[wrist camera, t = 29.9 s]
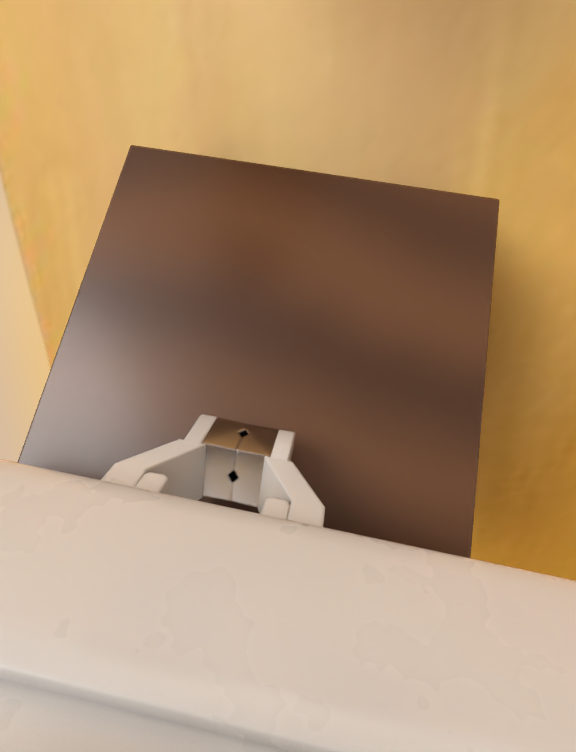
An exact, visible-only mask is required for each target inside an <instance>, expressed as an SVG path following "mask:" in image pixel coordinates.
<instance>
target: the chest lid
mask: <svg viewBox="0 0 576 752" xmlns="http://www.w3.org/2000/svg"><path fill="white" fill-rule="evenodd" d="M498 212H499V200H498V199H493V198H486V197H479V196H473V195H466V194H459V193H452V192H445V191H439V190H432V189H425V188H418V187H412V186H405V185H398V184H391V183H385V182H378V181H371V180H364V179H358V178H351V177H344V176H337V175H331V174H324V173H317V172H310V171H304V170H297V169H290V168H283V167H277V166H270V165H263V164H256V163H250V162H243V161H236V160H229V159H222V158H216V157H209V156H202V155H195V154H189V153H182V152H175V151H168V150H162V149H155V148H148V147H141V146H135V145H131V146H130V149H129V152H128V155H127V157H126V160H125V163H124V166H123V169H122V171H121V174H120V177H119V180H118V183H117V185H116V188H115V191H114V194H113V197H112V199H111V202H110V205H109V208H108V211H107V213H106V216H105V219H104V222H103V225H102V227H101V230H100V233H99V236H98V239H97V241H96V244H95V247H94V250H93V253H92V255H91V258H90V261H89V264H88V267H87V269H86V272H85V275H84V278H83V281H82V283H81V286H80V289H79V292H78V295H77V297H76V300H75V303H74V306H73V309H72V311H71V314H70V317H69V320H68V323H67V325H66V328H65V331H64V334H63V337H62V339H61V342H60V345H59V348H58V351H57V353H56V356H55V359H54V362H53V365H52V367H51V370H50V373H49V376H48V379H47V382H46V384H45V387H44V390H43V393H42V395H41V398H40V401H39V404H38V407H37V410H36V412H35V415H34V418H33V421H32V423H31V426H30V429H29V432H28V435H27V437H26V440H25V443H24V446H23V449H22V451H21V454H20V457H19V460H18V463H22V464H26V465H31V466H36V467H41V468H45V469H50V470H55V471H59V472H64V473H69V474H74V475H78V476H83V477H88V478H93V479H97V480H101V479H102V478H103V477H104V476H105V474H106V473H107V472H108V471H109V470H110V468H111V467H112V466H113V465H114V464H115V463H117V462H120V461H122V460H125V459H128V458H130V457H133V456H136V455H138V454H141V453H144V452H146V451H149V450H152V449H154V448H157V447H160V446H162V445H165V444H168V443H170V442H173V441H176V440H178V439H182V440H184V439H185V437H186V436H187V434H188V433H189V431H190V430H191V428H192V427H193V425H194V424H195V422H196V421H197V419H198V418H199V416H200V415H202V414H204V415H210V416H215V417H219V418H224V419H229V420H233V421H238V422H242V423H247V424H250V425H256V426H262V427H268V428H274V429H279V430H286V431H292V432H295V440H294V446H293V452H292V457H291V462H293V463H294V464H295V466H296V467H297V469H298V470H299V471H300V473H301V474H302V476H303V477H304V478H305V480H306V481H307V483H308V484H309V485H310V487H311V488H312V490H313V491H314V492H315V494H316V495H317V497H318V498H319V499H320V501H321V502H322V504H323V505H324V507H325V514H324V523H323V527H325V528H329V529H334V530H339V531H344V532H348V533H353V534H358V535H363V536H367V537H372V538H377V539H382V540H386V541H391V542H396V543H400V544H405V545H410V546H415V547H419V548H424V549H429V550H434V551H438V552H443V553H448V554H453V555H457V556H462V557H467V558H470V556H471V544H472V531H473V519H474V507H475V494H476V482H477V470H478V457H479V445H480V433H481V421H482V408H483V396H484V384H485V371H486V359H487V347H488V335H489V322H490V310H491V298H492V285H493V273H494V261H495V248H496V236H497V224H498ZM198 501H202V502H206V503H211V504H216V505H220V506H225V507H230V508H235V509H239V510H244V511H249V512H254V513H258V514H260V513H259V511H258V507H253V506H249V505H245V504H241V503H237V502H232V501H228V500H222V499H217V498H211V497H206V496H202V498H201V499H199V500H198Z"/></svg>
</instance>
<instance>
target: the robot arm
mask: <svg viewBox="0 0 576 752" xmlns="http://www.w3.org/2000/svg"><path fill="white" fill-rule="evenodd" d="M294 440H295V432H292V431H286V430H279V429H274V428H268V427H262V426H256V425H250V424H247V423H242V422H238V421H233V420H229V419H224V418H219V417H215V416H210V415H204V414H202V415H200V416H199V418H198V419H197V421H196V422H195V424H194V425H193V427H192V428H191V430H190V431H189V433H188V434H187V436H186V437H185V439H184V440H182V439H178V440H176V441H173V442H170V443H168V444H165V445H162V446H160V447H157V448H154V449H152V450H149V451H146V452H144V453H141V454H138V455H136V456H133V457H130V458H128V459H125V460H122V461H120V462H117V463H115V464H114V465H113V466H112V467H111V468H110V470H109V471H108V472H107V473H106V474H105V476H104V477H103V478H102V479H101V480H97V479H93V478H88V477H83V476H78V475H74V474H69V473H64V472H59V471H55V470H50V469H45V468H41V467H36V466H31V465H26V464H22V463H17V462H12V461H7V460H3V459H0V752H576V581H575V580H571V579H566V578H561V577H557V576H552V575H547V574H542V573H538V572H533V571H528V570H523V569H519V568H514V567H509V566H505V565H500V564H495V563H490V562H486V561H481V560H476V559H471V558H467V557H462V556H457V555H453V554H448V553H443V552H438V551H434V550H429V549H424V548H419V547H415V546H410V545H405V544H400V543H396V542H391V541H386V540H382V539H377V538H372V537H367V536H363V535H358V534H353V533H348V532H344V531H339V530H334V529H329V528H325V527H323V523H324V514H325V507H324V505H323V504H322V502H321V501H320V499H319V498H318V497H317V495H316V494H315V492H314V491H313V490H312V488H311V487H310V485H309V484H308V483H307V481H306V480H305V478H304V477H303V476H302V474H301V473H300V471H299V470H298V469H297V467H296V466H295V464H294V463H293V462H291V457H292V452H293V446H294ZM202 496H206V497H211V498H217V499H222V500H228V501H232V502H237V503H241V504H245V505H249V506H253V507H258V511H259V513H260V514H258V513H254V512H249V511H244V510H239V509H235V508H230V507H225V506H220V505H216V504H211V503H206V502H202V501H198V500H199V499H201V498H202Z"/></svg>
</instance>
